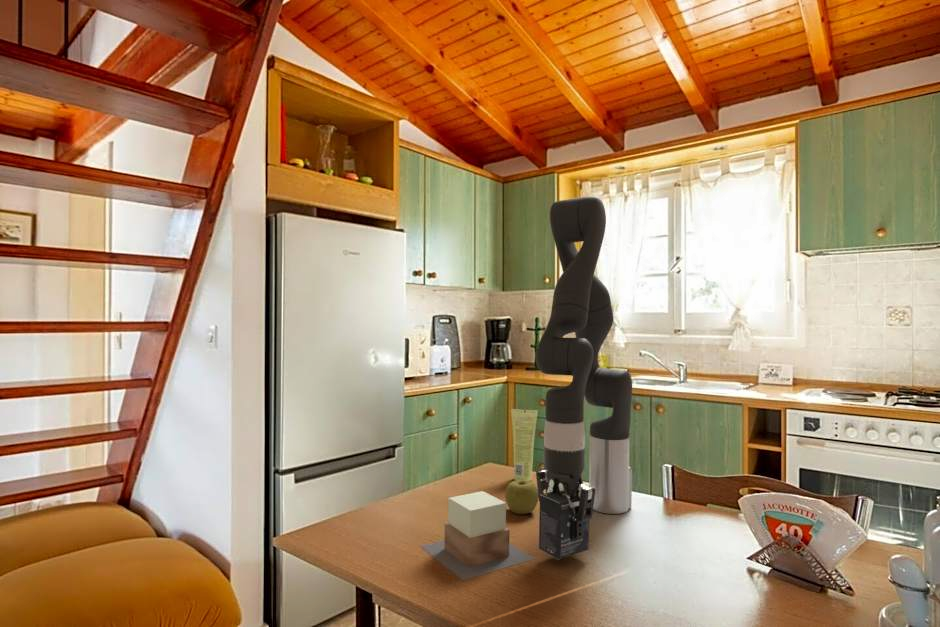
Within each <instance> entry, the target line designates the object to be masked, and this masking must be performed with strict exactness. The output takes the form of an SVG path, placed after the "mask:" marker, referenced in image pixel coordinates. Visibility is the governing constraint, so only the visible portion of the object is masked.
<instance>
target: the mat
mask: <svg viewBox="0 0 940 627" xmlns="http://www.w3.org/2000/svg"><path fill="white" fill-rule="evenodd" d="M444 546H445V539H443V540H440V541H435V542H433V543H428V544H423V545H420V548H421V549H423V550H424V551H425V552H426V553H427V554H429V555H430V556H431V557H433V558H434V559H435V560H436V561H437V562H439V563H440V564H442V565H443V566H444V567H445V568H447V570H449V571H450V572H451V573H452V574H454V575H455V576H456V577H458V578H459V579H460V580H461V581H466V580H468V579H473V578H475V577H476V578H477V577H480V576H482V575H486V574H489V573H490V574H491V573H493V572H496V571H501V570H503V569H506V568H509V567H513V566H517V565H520V564H523V563H526V562H531V561H534V560H536V558H535V557H533V556H532V555H530V554H528V553H526V551H523V550H522V549H520V548H518V547H517V546H515V544H512V543H510V542H509V556H507V557H504V558H500V559H496V560H493V561H489V562H486V563H482V564H479V565H475V566H472V567H468V566H467V565H465V564H464V563H463V562H461V561H460V560H459V559H457V558H456V557H455V556H453V555H452V554H451V553H449V552H448V551H447V550H445V549H444Z"/></svg>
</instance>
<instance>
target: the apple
mask: <svg viewBox="0 0 940 627" xmlns="http://www.w3.org/2000/svg"><path fill="white" fill-rule="evenodd" d="M504 494H505V496H504V497H505V501H506V502H505V503H506V506H508V508H509V509H510V511H511V512H513V513H514V514H515V515H516V514H517V515H526V514H529V513H532V512H533V511H534V510H535V509H536V507H537V505H538V502H539V498H538V488H537V485H535V483H533V482H532V481H531V480H530V481H527V480H513V481H512V482H510V483H509V484H508V485H507V486H506V489H505V493H504Z"/></svg>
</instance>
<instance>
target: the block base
mask: <svg viewBox="0 0 940 627" xmlns="http://www.w3.org/2000/svg"><path fill="white" fill-rule="evenodd" d="M444 540H445V546H444V549H445V550H447V551H448V552H449V553H451V554H452V555H453V556H455V557H456V558H457V559H459V560H460V561H461V562H463V563H464V564H465V565H467V566H468V567H472V566H475V565H479V564H482V563H486V562H489V561H493V560H496V559H500V558H504V557H507V556H509V543H510V529H509V528H507V527H506V529H505V530H501V531H497V532H493V533H489V534H485V535H481V536H477V537H473V538H469V537H468V536H466V535H465V534H463V533H462V532H460V531H459V530H457V529H456V528H454V527H453V526H451V525H450V524H448V522H445V523H444Z"/></svg>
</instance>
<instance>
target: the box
mask: <svg viewBox="0 0 940 627" xmlns="http://www.w3.org/2000/svg"><path fill="white" fill-rule="evenodd" d="M570 501H571V502H572V503H574V502H578V501H579V497H576V498H573V499H570ZM574 509H575V513H578V507H577V506H575V507H574ZM585 512H586V510H585ZM538 518H539V524H538V525H539V526H538V527H539V528H538V529H539V531H538V532H539V533H538V534H539V535H538V549H539V550H540V551H542V552H543V553H545V554H547V555H549V556H550V557H552V558H553V559H555V560H557V561H560V560H562V559H564V558H568V557H570V556H574V555H577V554H579V553H582V552H586V551H588V550H589V551H590V519H587V520H583V536H582V538H581V539H580V540H578V541H572V540H571V539H570V520H571V518H570V508H568V501H567V500H565V499H563V496H561V495H558V494H556V493H546V492H545V493H543V494H540V502H539V517H538Z"/></svg>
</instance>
